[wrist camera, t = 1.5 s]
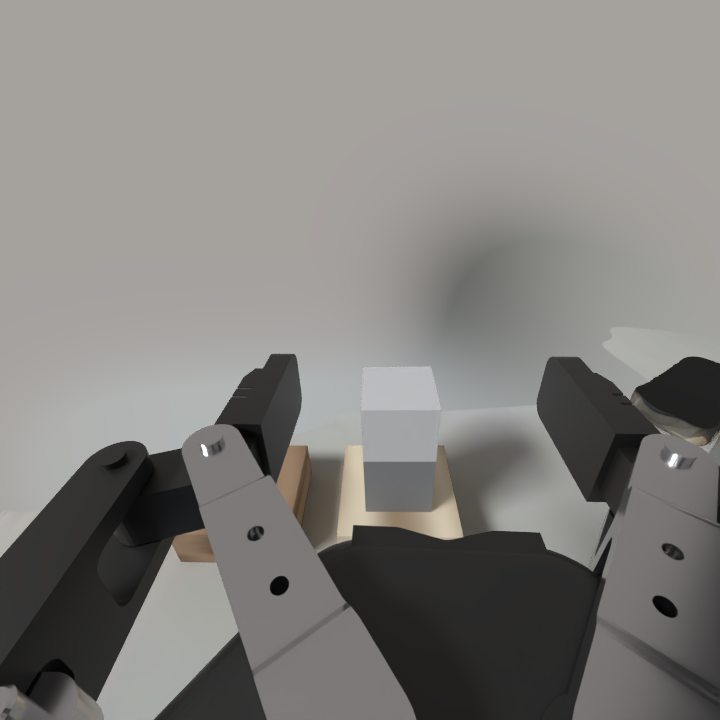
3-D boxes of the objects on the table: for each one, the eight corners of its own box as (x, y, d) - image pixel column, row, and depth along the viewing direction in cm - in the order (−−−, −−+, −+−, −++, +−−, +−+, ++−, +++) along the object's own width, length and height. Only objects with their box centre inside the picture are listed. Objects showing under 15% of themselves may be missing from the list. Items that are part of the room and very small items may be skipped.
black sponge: (680, 374, 53) (691, 352, 51) (757, 404, 47) (772, 380, 45) (617, 414, 47) (627, 391, 45) (696, 456, 40) (712, 431, 38)
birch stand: (440, 472, 39) (443, 445, 37) (458, 566, 31) (463, 537, 29) (347, 472, 40) (345, 445, 38) (340, 564, 31) (336, 536, 29)
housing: (423, 462, 35) (430, 366, 30) (431, 512, 31) (441, 409, 25) (367, 462, 36) (363, 367, 30) (365, 511, 31) (360, 410, 25)
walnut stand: (311, 472, 40) (307, 445, 38) (293, 563, 31) (287, 535, 29) (222, 472, 40) (213, 445, 38) (181, 561, 32) (166, 533, 30)
